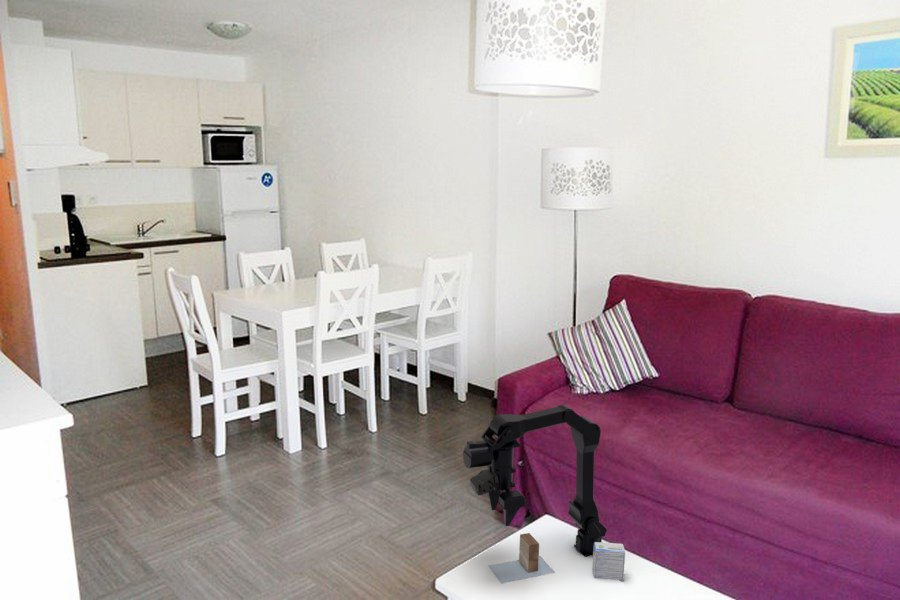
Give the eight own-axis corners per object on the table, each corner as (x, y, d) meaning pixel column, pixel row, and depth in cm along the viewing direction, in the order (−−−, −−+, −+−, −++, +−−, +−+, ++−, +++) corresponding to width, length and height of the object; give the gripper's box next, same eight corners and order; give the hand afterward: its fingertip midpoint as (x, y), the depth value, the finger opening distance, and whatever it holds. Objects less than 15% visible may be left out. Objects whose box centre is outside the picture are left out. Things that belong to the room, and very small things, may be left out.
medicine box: (621, 572, 189) (623, 543, 188) (623, 582, 185) (625, 551, 183) (591, 570, 190) (593, 541, 189) (593, 579, 186) (595, 549, 184)
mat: (540, 557, 196) (540, 555, 196) (555, 573, 188) (555, 572, 188) (487, 566, 191) (487, 565, 191) (501, 584, 183) (501, 583, 182)
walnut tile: (528, 559, 194) (529, 532, 193) (538, 570, 189) (539, 543, 187) (518, 561, 193) (519, 534, 192) (528, 572, 188) (529, 545, 186)
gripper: (461, 453, 191) (460, 506, 194) (487, 481, 174) (486, 539, 177) (498, 448, 195) (496, 500, 198) (528, 475, 178) (525, 532, 180)
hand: (500, 517), depth 188 cm, fingers open, 9 cm apart
